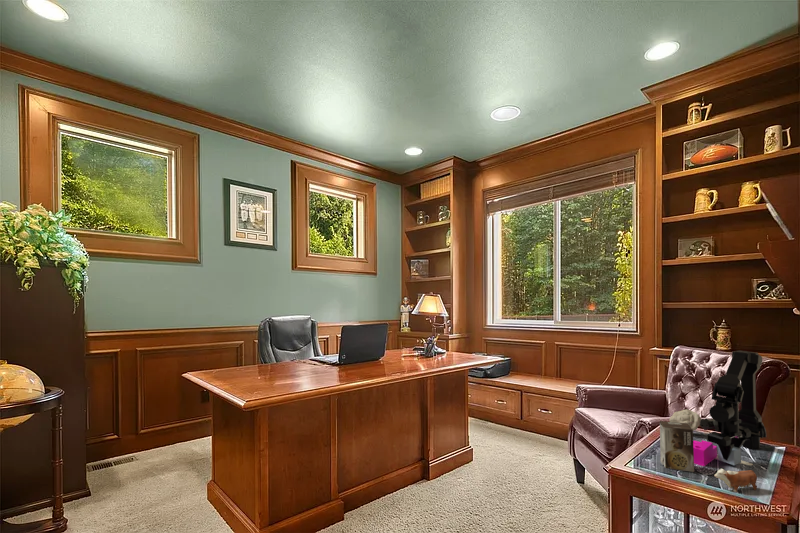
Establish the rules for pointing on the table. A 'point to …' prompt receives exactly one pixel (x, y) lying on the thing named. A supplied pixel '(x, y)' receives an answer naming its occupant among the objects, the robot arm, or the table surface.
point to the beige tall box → (676, 446)
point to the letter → (740, 463)
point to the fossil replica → (686, 418)
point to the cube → (731, 456)
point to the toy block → (704, 452)
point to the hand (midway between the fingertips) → (729, 458)
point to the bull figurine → (737, 478)
